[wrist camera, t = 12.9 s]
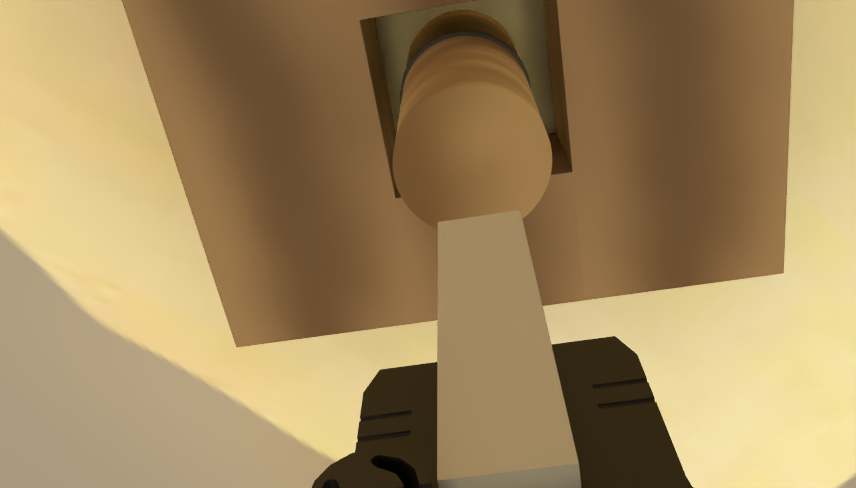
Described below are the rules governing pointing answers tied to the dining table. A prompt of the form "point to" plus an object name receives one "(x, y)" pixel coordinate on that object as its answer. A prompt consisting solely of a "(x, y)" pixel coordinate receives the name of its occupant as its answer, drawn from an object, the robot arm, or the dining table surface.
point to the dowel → (468, 124)
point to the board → (375, 138)
